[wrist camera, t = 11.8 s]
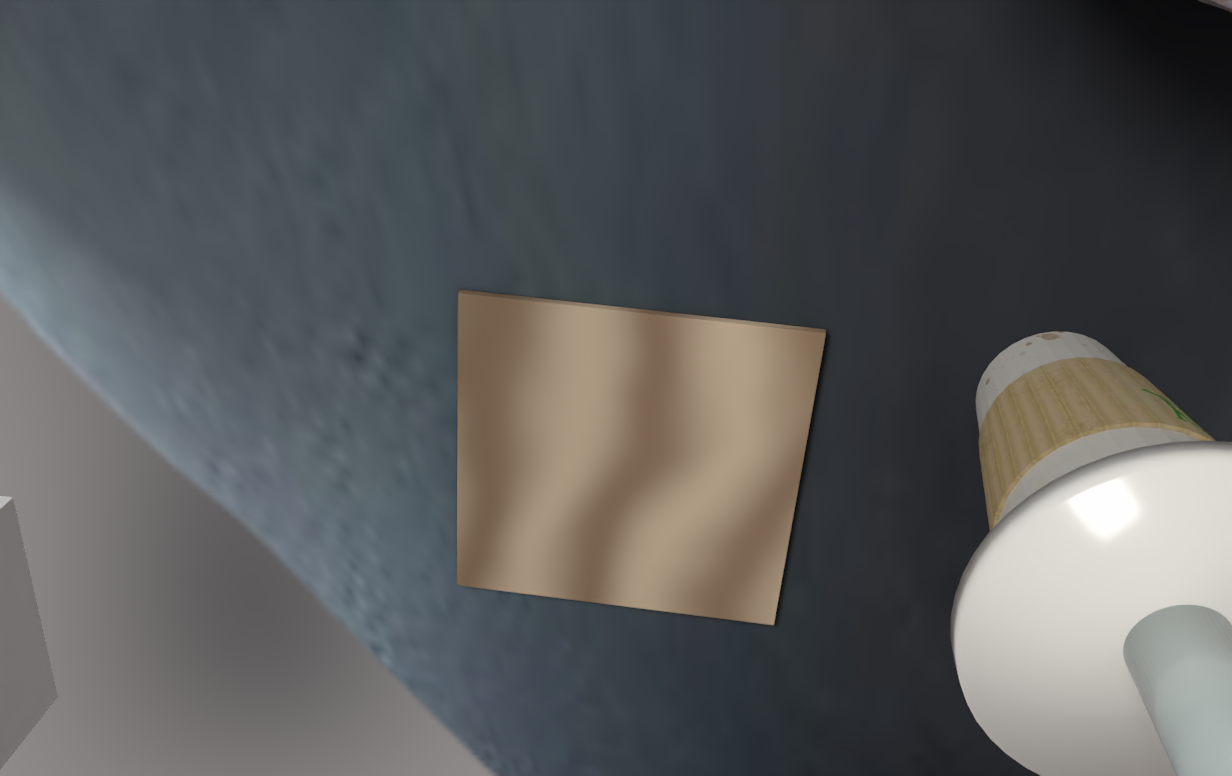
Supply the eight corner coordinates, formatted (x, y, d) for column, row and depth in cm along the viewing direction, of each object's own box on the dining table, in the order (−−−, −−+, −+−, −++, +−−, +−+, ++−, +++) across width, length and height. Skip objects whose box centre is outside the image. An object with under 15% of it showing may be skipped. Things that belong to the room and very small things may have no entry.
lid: (914, 745, 37) (954, 967, 30) (1003, 416, 31) (1080, 595, 24) (1304, 795, 36) (1442, 1036, 29) (1473, 468, 30) (1701, 669, 23)
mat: (458, 580, 55) (456, 585, 55) (460, 289, 48) (458, 292, 47) (773, 619, 54) (773, 625, 54) (825, 329, 47) (826, 333, 46)
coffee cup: (1101, 517, 49) (1230, 770, 36) (897, 455, 49) (952, 687, 36) (1216, 331, 45) (1412, 543, 32) (992, 261, 45) (1095, 445, 31)
